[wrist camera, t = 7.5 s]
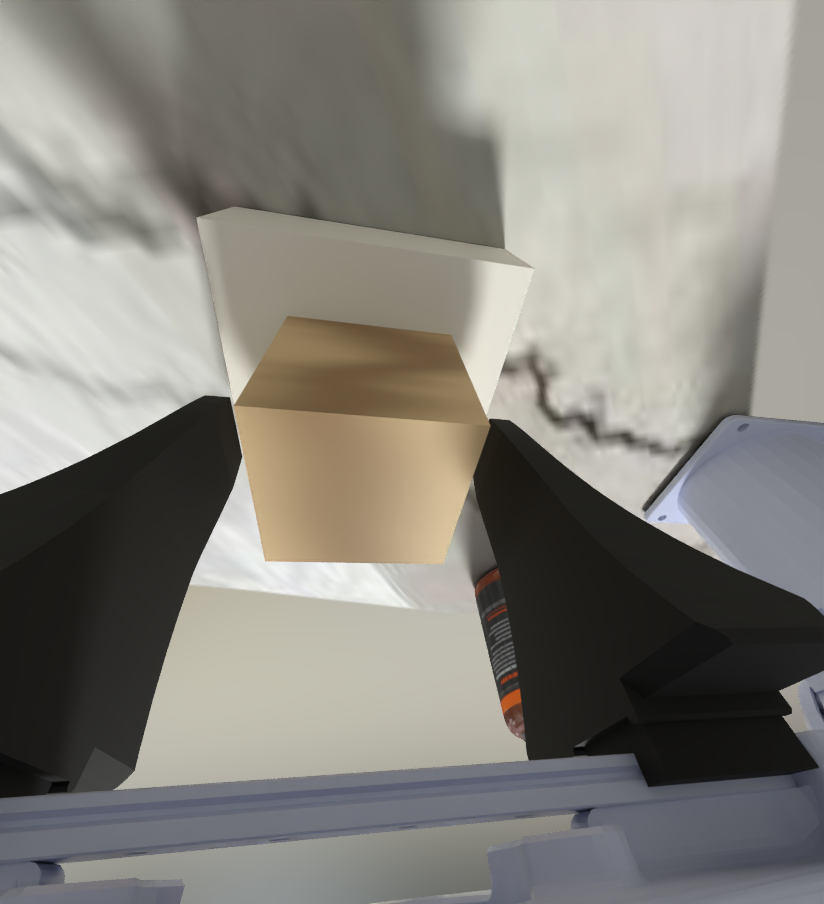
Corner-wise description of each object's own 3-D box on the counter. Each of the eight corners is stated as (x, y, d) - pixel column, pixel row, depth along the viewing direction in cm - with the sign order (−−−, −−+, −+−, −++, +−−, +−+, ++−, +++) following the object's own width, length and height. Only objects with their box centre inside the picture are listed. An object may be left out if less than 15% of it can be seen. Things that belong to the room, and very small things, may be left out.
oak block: (451, 334, 11) (490, 425, 7) (425, 455, 14) (442, 564, 10) (287, 315, 10) (233, 405, 6) (297, 447, 13) (265, 560, 10)
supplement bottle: (467, 602, 28) (507, 796, 20) (479, 560, 25) (535, 776, 16) (538, 598, 29) (607, 786, 20) (561, 556, 25) (658, 764, 16)
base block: (505, 249, 12) (534, 268, 10) (451, 447, 18) (461, 489, 16) (234, 206, 11) (196, 218, 9) (267, 435, 17) (249, 479, 14)
